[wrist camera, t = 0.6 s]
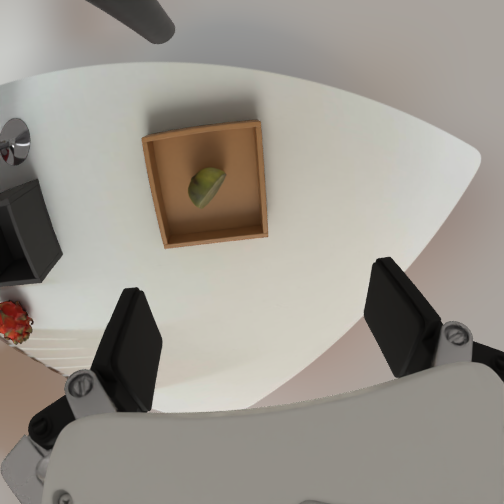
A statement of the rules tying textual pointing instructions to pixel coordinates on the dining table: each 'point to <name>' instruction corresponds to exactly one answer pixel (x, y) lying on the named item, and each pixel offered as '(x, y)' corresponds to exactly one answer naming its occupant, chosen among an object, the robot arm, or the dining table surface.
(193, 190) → the lime
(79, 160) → the dining table surface
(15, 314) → the dragon fruit
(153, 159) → the box
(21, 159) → the wine glass
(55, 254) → the dark grey open box
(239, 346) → the dining table surface
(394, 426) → the robot arm
